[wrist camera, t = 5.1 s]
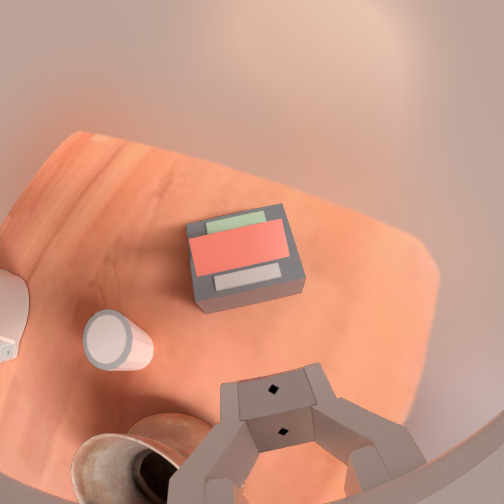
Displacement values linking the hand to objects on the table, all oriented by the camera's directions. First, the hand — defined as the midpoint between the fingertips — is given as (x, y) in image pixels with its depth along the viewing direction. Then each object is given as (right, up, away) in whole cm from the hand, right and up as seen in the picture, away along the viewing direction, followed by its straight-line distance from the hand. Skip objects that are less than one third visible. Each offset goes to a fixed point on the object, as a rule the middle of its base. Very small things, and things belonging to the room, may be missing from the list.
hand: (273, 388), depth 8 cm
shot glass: (-16, -8, +24) cm, 30 cm away
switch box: (-1, +2, +28) cm, 28 cm away
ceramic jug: (-9, -21, +17) cm, 29 cm away
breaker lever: (-2, +5, +23) cm, 23 cm away
